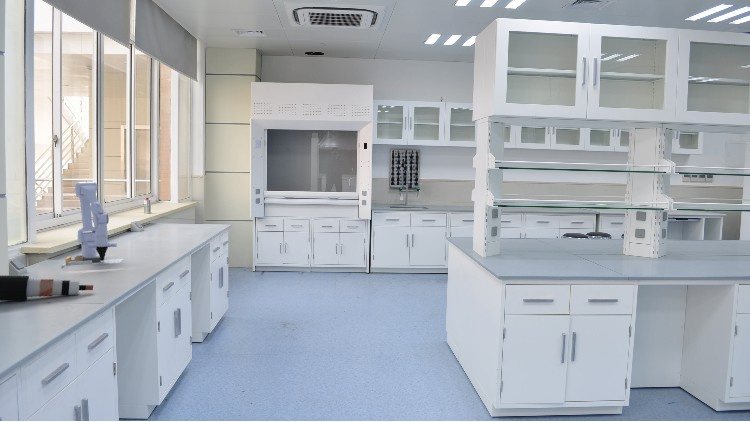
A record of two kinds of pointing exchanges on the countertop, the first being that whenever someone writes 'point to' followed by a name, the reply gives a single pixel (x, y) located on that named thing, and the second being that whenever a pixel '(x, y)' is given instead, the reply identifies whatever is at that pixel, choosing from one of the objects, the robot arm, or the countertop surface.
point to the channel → (88, 262)
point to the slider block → (79, 258)
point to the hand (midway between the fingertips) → (102, 260)
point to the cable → (37, 287)
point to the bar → (92, 259)
